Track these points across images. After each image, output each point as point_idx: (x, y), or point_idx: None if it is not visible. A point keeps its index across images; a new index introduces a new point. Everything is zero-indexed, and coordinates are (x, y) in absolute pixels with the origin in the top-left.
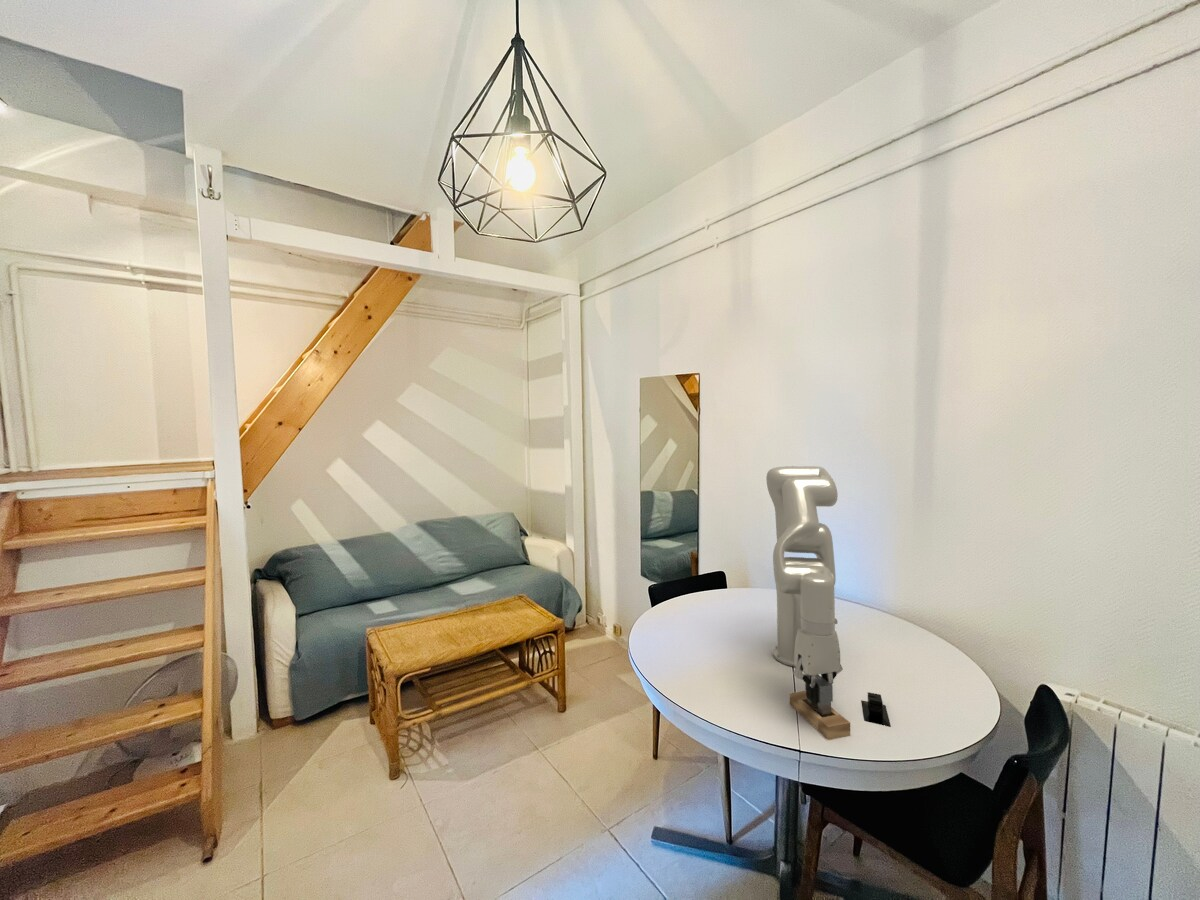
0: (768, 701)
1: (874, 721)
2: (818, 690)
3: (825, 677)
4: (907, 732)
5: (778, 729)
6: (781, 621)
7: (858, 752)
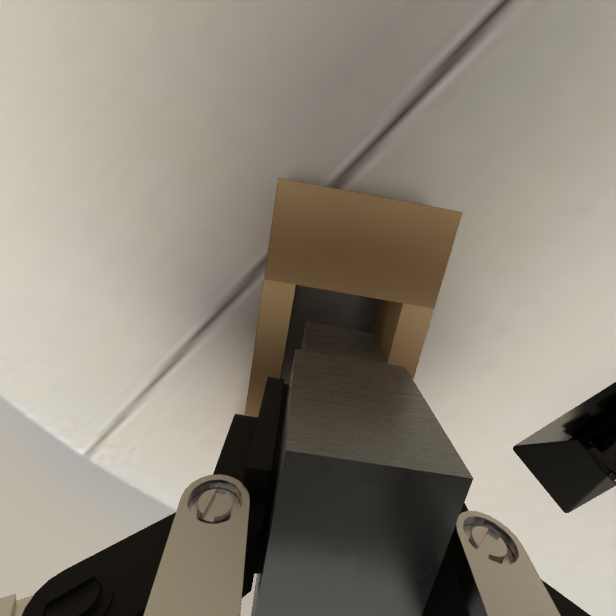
0: (177, 87)
1: (546, 470)
2: (257, 579)
3: (463, 613)
4: (582, 553)
5: (70, 330)
6: None
7: None
